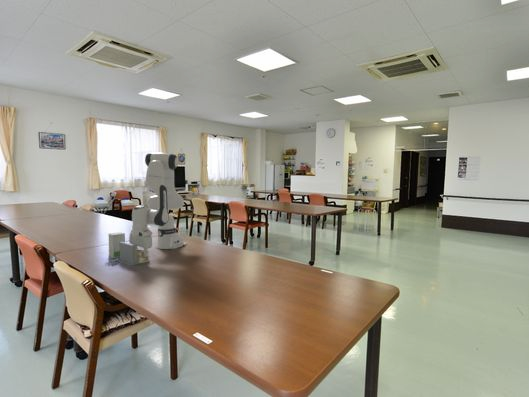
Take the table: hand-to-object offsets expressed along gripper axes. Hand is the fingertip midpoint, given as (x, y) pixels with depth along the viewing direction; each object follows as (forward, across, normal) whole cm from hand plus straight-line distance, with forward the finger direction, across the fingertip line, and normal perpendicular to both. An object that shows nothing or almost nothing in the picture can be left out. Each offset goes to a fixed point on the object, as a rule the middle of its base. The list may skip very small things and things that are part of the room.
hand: (140, 252), depth 182 cm
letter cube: (+4, +1, 0) cm, 5 cm away
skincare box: (+6, -20, -5) cm, 21 cm away
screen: (+5, -3, -7) cm, 9 cm away
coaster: (+5, +1, 0) cm, 5 cm away
